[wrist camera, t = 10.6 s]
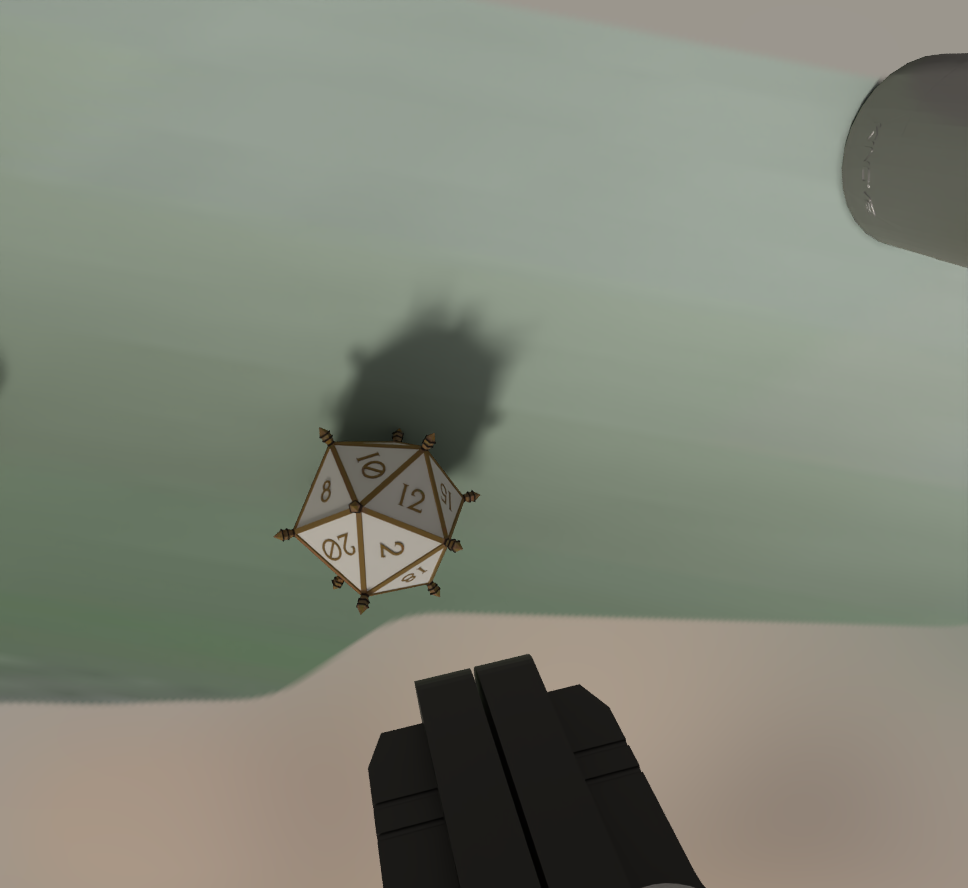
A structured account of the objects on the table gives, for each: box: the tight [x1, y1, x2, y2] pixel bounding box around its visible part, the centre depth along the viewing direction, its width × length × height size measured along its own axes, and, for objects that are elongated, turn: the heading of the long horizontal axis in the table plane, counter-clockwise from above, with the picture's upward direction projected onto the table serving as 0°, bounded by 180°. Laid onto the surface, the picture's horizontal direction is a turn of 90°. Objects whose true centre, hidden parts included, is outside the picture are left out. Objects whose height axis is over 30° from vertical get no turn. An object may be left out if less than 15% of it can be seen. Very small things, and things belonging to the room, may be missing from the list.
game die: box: [274, 427, 480, 615], centre depth 41 cm, size 9×8×10 cm
